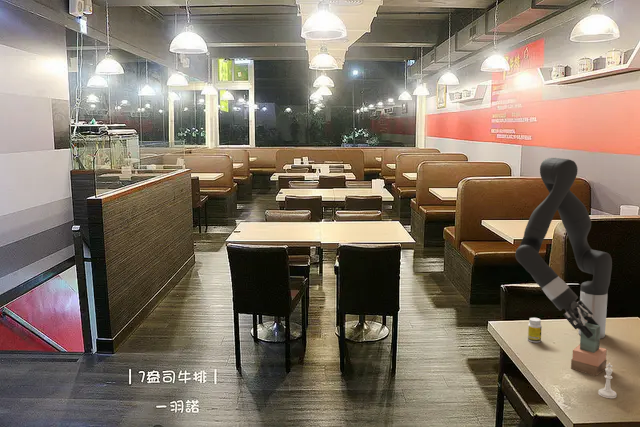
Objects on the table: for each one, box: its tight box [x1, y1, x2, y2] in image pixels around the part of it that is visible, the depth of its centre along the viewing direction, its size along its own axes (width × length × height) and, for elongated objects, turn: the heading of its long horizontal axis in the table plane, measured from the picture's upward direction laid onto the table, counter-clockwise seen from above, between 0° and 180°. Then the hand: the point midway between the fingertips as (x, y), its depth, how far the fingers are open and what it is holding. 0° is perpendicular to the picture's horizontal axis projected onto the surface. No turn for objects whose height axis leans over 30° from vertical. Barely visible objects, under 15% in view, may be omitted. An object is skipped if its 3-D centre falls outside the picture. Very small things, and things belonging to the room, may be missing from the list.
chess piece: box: [597, 362, 617, 399], centre depth 164 cm, size 5×5×10 cm
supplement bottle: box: [527, 317, 543, 344], centre depth 205 cm, size 5×5×8 cm
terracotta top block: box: [571, 343, 607, 367], centre depth 181 cm, size 8×8×4 cm
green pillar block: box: [579, 323, 601, 353], centre depth 181 cm, size 4×4×8 cm
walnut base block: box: [570, 359, 607, 377], centre depth 182 cm, size 8×8×4 cm
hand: (594, 332), depth 179 cm, fingers open, 8 cm apart
